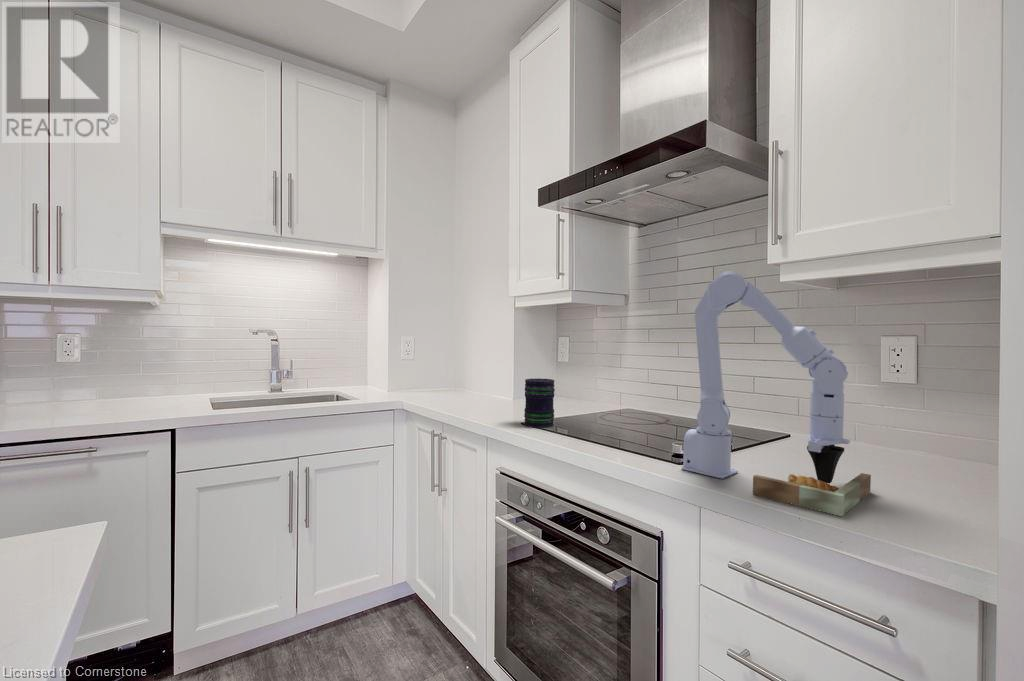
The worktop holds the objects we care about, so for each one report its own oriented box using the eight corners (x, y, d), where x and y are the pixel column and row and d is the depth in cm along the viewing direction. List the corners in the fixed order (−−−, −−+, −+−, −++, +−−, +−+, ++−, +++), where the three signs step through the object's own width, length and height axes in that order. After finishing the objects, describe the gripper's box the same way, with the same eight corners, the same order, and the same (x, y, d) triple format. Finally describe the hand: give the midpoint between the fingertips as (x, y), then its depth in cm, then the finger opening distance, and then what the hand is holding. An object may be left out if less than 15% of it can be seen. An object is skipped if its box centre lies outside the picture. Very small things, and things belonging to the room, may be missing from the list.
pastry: (842, 497, 92) (843, 477, 92) (845, 508, 86) (845, 487, 86) (786, 488, 97) (786, 469, 97) (785, 498, 91) (785, 478, 91)
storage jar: (532, 429, 151) (532, 381, 151) (519, 423, 160) (519, 378, 160) (559, 427, 155) (560, 381, 155) (545, 421, 164) (546, 378, 164)
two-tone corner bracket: (752, 494, 92) (753, 476, 92) (789, 475, 105) (789, 459, 105) (841, 516, 81) (841, 496, 81) (870, 492, 94) (870, 474, 94)
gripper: (838, 422, 89) (837, 494, 90) (859, 414, 99) (858, 479, 99) (797, 416, 95) (795, 485, 95) (820, 409, 104) (819, 471, 105)
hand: (824, 481), depth 97 cm, fingers closed
